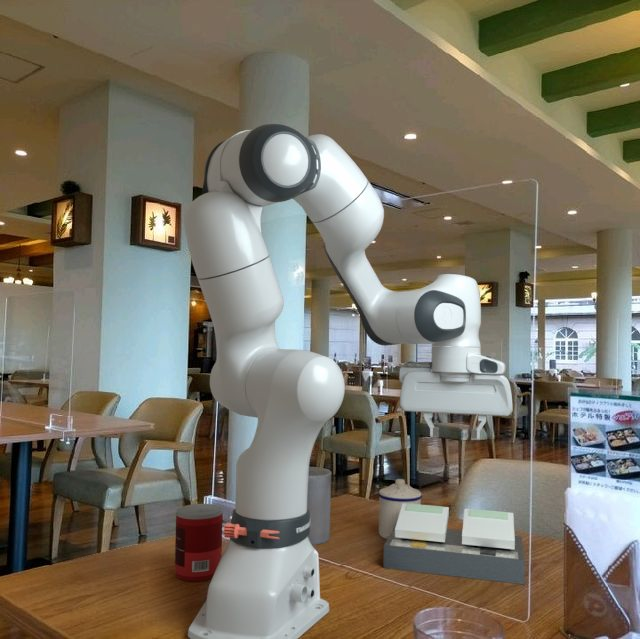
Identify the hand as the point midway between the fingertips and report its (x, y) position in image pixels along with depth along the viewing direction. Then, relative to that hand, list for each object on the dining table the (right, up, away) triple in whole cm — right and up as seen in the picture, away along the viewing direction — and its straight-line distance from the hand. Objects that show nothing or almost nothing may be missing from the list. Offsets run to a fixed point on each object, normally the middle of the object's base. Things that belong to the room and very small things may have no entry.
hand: (454, 438), depth 114 cm
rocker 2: (+6, -17, +1) cm, 18 cm away
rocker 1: (-5, -17, +4) cm, 18 cm away
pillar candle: (-27, -23, +14) cm, 39 cm away
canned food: (-46, -22, -7) cm, 51 cm away
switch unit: (0, -23, +1) cm, 23 cm away
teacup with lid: (-9, -24, +18) cm, 31 cm away
